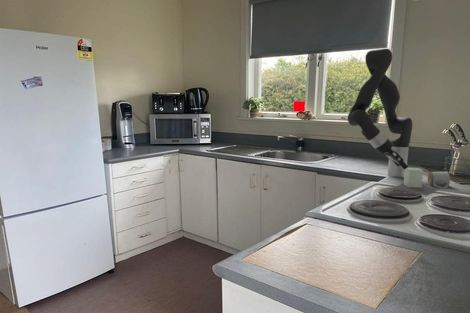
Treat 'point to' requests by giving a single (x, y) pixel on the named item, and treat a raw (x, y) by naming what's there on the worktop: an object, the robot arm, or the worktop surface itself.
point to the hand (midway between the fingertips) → (402, 166)
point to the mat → (416, 189)
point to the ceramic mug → (439, 179)
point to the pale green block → (413, 177)
